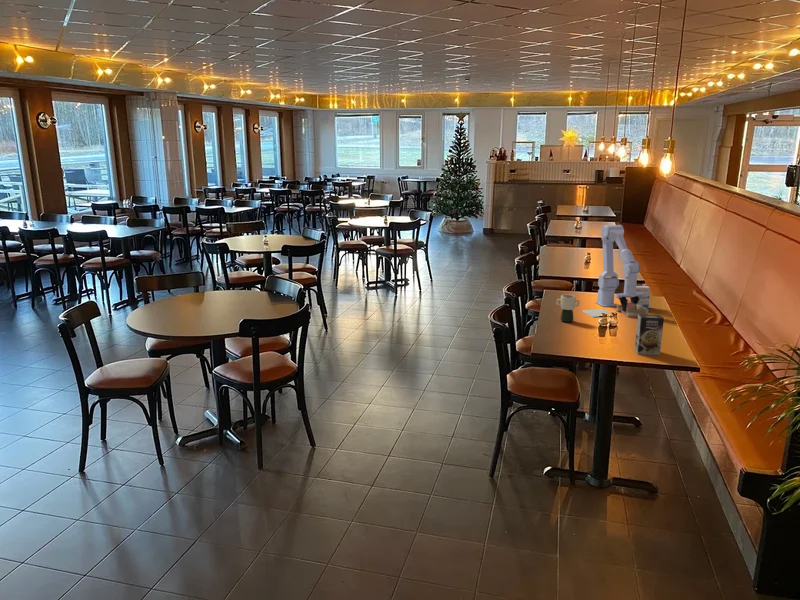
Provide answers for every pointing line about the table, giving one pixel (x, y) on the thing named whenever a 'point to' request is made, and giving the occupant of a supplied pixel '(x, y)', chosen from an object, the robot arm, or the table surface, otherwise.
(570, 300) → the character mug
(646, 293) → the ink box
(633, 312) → the frame
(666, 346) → the table surface
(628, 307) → the block
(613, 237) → the robot arm
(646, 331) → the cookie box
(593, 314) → the pad
